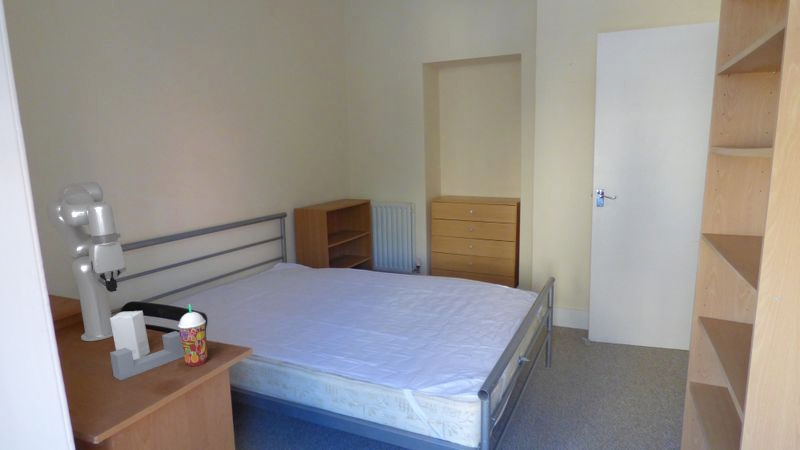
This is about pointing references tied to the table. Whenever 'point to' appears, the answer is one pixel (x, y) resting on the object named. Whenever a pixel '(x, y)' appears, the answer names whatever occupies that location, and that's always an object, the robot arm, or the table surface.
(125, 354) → the u rest
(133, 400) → the table surface
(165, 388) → the table surface
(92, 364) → the table surface
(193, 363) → the smoothie
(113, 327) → the skincare box
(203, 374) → the table surface
